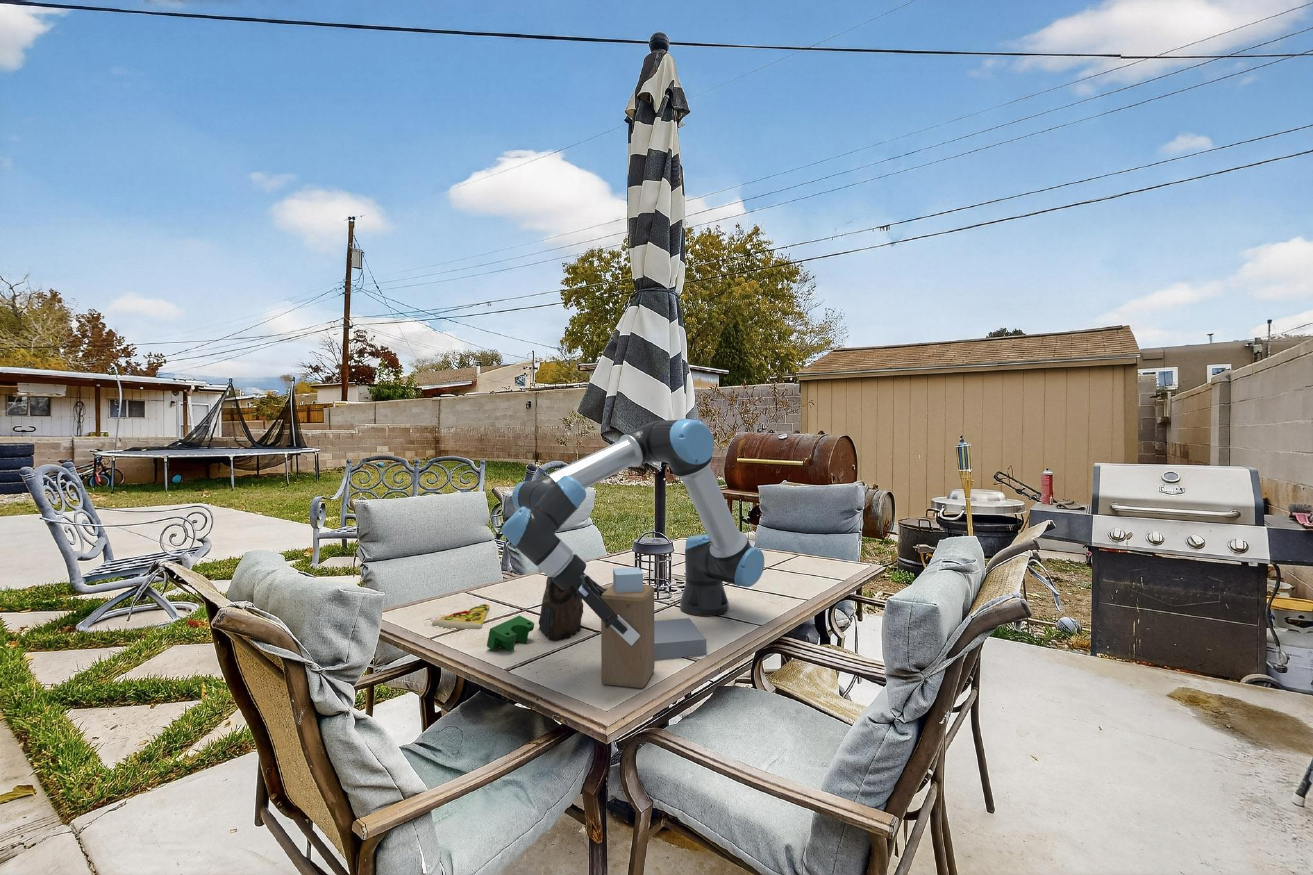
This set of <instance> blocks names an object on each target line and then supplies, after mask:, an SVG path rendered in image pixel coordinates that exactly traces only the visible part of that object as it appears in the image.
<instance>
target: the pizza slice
mask: <svg viewBox="0 0 1313 875" xmlns="http://www.w3.org/2000/svg"><path fill="white" fill-rule="evenodd" d="M489 610H490V604H486V603H484V604H480V605H478V606H476V605H475V606H474V607H471V608H469V609H468V610H463V611H458V612H457V611H456V612H454V613H451V614H448V615H444V616H442V617H440V618H439V619H435V620H433V621H432V622H431V626H432V625H433V626H432V627H434V626H439V627H443V628H442V629H445V628H456V629H477V630H481V629H483V626H484V623H485V621H484V620H486V618H487V614H488V613H489ZM439 627H438V628H439ZM456 629H455V630H456Z"/></svg>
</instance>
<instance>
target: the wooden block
mask: <svg viewBox="0 0 1313 875" xmlns="http://www.w3.org/2000/svg"><path fill="white" fill-rule="evenodd" d="M605 590H606V591H605V592H604V593H603V594H602V596H601V598H602V599H603V600H604V601H605V602H606V603H607V605H608V606H609V607H610V608H611V609H612V610H613V611H614V613H615V614H617V615H619V616H620V617H621V618H622V619H623V620H624V621H625V622H626V623H628V624H629V625H630V626H631V627H632V628H633V629H634V630H635V631H636V632H637V633H638V634H639V635H640V637H639V638H638V639H637V640H636V641H635V643H634V644H633V645H632V646H631V645H630V644H629V643H628V642H627V641H626V640H625V639H623V638H622V637H621V636H620V635H619V634H618V633H617V632H616V631H615V630H614V629H613V628H612V627H609V628H608V629H607V628H606V627H605V625H606V624H605V623H604V622H603V621H602V620H601V619H600V627H601V628H600V630H601V631H600V632H601V634H600V642H601V643H600V644H601V645H600V647H601V648H600V649H601V651H600V652H601V653H600V654H601V660H600V662H601V667H600V668H601V673H600V674H601V684H603V685H609V686H620V687H628V688H637V689H641V688H645V686H646V685H647V683H648V681H649V680H650V678H651V676H652V674H653V673H654V671H655V666H656V665H655V661H656V660H655V655H654V621H655V588H654V586H653V585H652V584H651V585H650V584H643V592H632V593H615V590H614V587H613V584H612V585H611V586H610V587H609V588H608V589H605ZM610 617H611V616H609V617H608V619H609V618H610Z"/></svg>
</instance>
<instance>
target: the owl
mask: <svg viewBox="0 0 1313 875" xmlns="http://www.w3.org/2000/svg"><path fill="white" fill-rule="evenodd" d="M583 614H584V601H583V599H582V598H581V597H580V596H578V595H577V593H576V590H575V587H574V586H570V587H569V588H568V589H566V590H562V589H560V588H559V587H558V586H557V585H556V584H555V583H554V582H553V581H552V577H548V576H546V582H545V589H544V592H543V596H542V602H541V606H540V615H539V619H538V625H539V626H538V630H540V631H541V633H542V634H544V636H545V637H547V638H548V640H549V641H553V642H559V641H564V640H568V639H570V638H571V637H572V636H575V635H576V634H577V633H579V632H580V633H581V624H582V618H583Z"/></svg>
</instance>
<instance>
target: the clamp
mask: <svg viewBox="0 0 1313 875" xmlns="http://www.w3.org/2000/svg"><path fill="white" fill-rule="evenodd" d="M534 628H535V622H533V621H531V620H529V619H528V618H525V617H523V616H522V615H518V616H515V617H513V618H511V619H508V620H507V621H504V622H501V623H499V624H497V625H494V626H493V627H490V628H489V632H488V637H487V642H486V647H487V648H489V650H492V651H494V650H495V651H497V650H499V649H501V648H505V649H508V650H509V651H511V650H513V651H514V650H515V645H516V642H518V643H519V642H520V643H523V645H524V644H527V642H528V640H529V639H528V637H529V635H530V634H529V633H530V632H532V631H534ZM500 647H501V648H500ZM496 649H497V650H496Z"/></svg>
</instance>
